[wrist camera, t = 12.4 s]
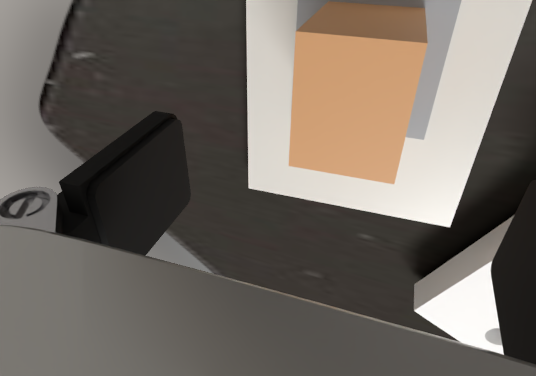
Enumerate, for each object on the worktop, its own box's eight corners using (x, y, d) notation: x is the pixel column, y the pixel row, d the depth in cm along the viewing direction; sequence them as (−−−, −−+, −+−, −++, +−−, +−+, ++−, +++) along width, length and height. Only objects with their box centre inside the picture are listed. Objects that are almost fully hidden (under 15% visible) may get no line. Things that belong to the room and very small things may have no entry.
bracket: (567, 166, 23) (619, 250, 17) (660, 232, 24) (740, 336, 18) (414, 275, 31) (413, 359, 25) (485, 323, 32) (500, 417, 26)
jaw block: (328, 1, 21) (295, 31, 15) (425, 8, 19) (427, 43, 14) (318, 109, 24) (288, 165, 18) (400, 120, 23) (394, 184, 17)
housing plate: (254, -170, 19) (212, -193, 15) (586, -182, 16) (641, -214, 12) (255, 177, 30) (231, 215, 27) (448, 213, 27) (453, 262, 23)
